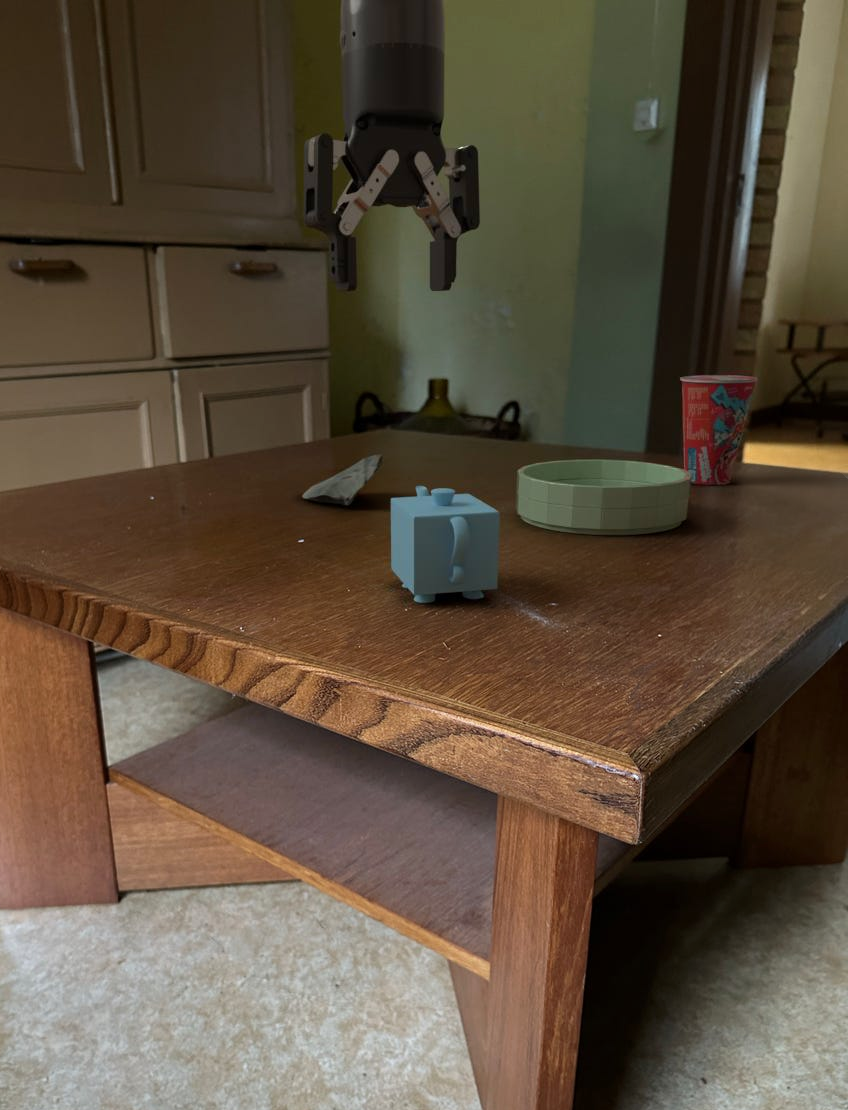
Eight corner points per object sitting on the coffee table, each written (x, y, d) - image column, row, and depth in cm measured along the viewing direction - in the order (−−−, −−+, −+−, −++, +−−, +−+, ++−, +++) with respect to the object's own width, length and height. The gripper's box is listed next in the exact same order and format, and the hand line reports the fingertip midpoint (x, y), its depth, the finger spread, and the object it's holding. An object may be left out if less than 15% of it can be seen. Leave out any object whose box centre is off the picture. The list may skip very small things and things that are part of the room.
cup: (757, 487, 105) (770, 378, 101) (683, 488, 105) (694, 380, 101) (727, 473, 113) (738, 373, 109) (658, 474, 114) (668, 374, 110)
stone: (304, 523, 95) (395, 492, 95) (291, 486, 94) (383, 455, 94) (308, 512, 105) (390, 484, 105) (297, 479, 105) (380, 451, 104)
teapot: (382, 569, 73) (380, 476, 71) (454, 564, 74) (456, 472, 72) (419, 614, 62) (419, 505, 60) (504, 607, 63) (507, 500, 61)
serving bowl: (664, 501, 98) (668, 459, 96) (706, 536, 82) (712, 486, 81) (510, 501, 99) (511, 460, 97) (523, 536, 83) (525, 487, 82)
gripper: (327, 26, 60) (335, 290, 65) (503, 49, 66) (497, 288, 72) (281, 54, 66) (292, 293, 72) (446, 73, 72) (445, 291, 78)
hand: (394, 290), depth 72 cm, fingers open, 8 cm apart
